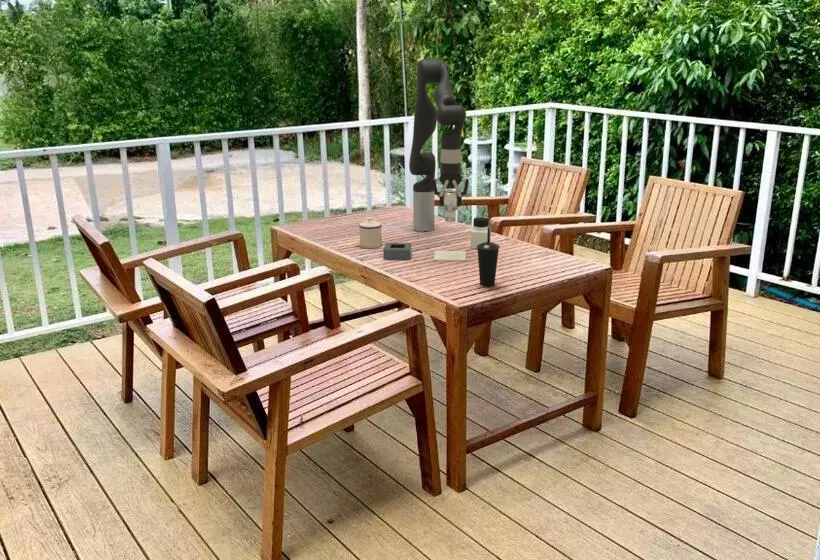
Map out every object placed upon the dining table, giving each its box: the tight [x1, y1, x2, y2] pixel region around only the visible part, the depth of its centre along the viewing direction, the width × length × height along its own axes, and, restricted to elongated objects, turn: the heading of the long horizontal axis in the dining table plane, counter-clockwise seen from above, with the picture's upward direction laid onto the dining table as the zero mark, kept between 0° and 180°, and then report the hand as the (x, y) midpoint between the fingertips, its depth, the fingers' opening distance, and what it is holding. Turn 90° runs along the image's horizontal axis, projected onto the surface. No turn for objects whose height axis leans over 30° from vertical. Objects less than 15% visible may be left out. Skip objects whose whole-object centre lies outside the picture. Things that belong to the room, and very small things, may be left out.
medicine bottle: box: [470, 216, 492, 250], centre depth 294 cm, size 7×7×12 cm
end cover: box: [442, 189, 459, 223], centre depth 276 cm, size 6×6×11 cm
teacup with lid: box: [358, 216, 383, 249], centre depth 298 cm, size 12×9×12 cm
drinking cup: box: [476, 226, 501, 287], centre depth 246 cm, size 8×8×20 cm
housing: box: [382, 242, 413, 261], centre depth 283 cm, size 10×10×4 cm
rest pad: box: [433, 250, 467, 262], centre depth 282 cm, size 12×12×1 cm
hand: (450, 206), depth 276 cm, fingers closed on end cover, 5 cm apart
